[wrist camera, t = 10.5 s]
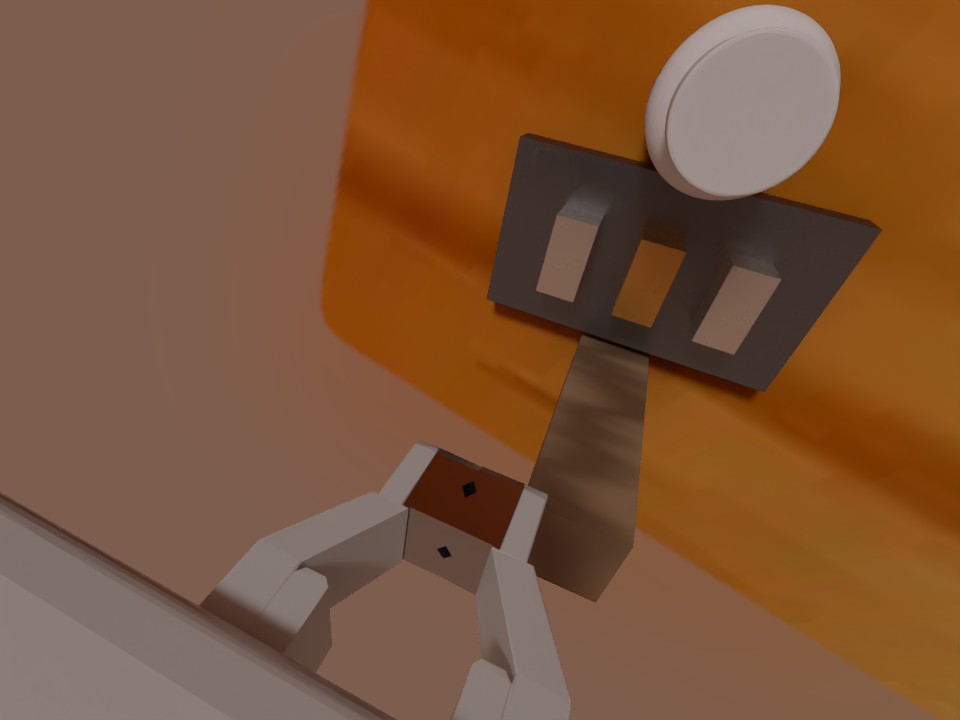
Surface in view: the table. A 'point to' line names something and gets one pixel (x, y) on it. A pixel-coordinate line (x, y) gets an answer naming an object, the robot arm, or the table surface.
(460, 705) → the robot arm
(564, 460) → the walnut post
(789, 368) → the table surface
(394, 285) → the table surface
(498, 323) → the table surface
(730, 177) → the pill bottle
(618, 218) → the breaker strip
